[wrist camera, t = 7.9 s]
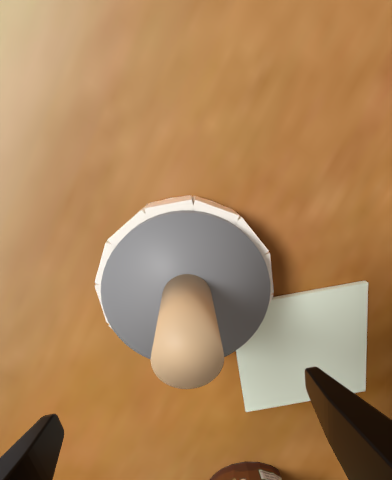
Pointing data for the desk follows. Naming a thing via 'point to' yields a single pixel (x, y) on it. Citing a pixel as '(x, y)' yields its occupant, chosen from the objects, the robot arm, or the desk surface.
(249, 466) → the food container
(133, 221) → the bowl
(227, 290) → the lid
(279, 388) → the mat
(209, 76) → the desk surface
